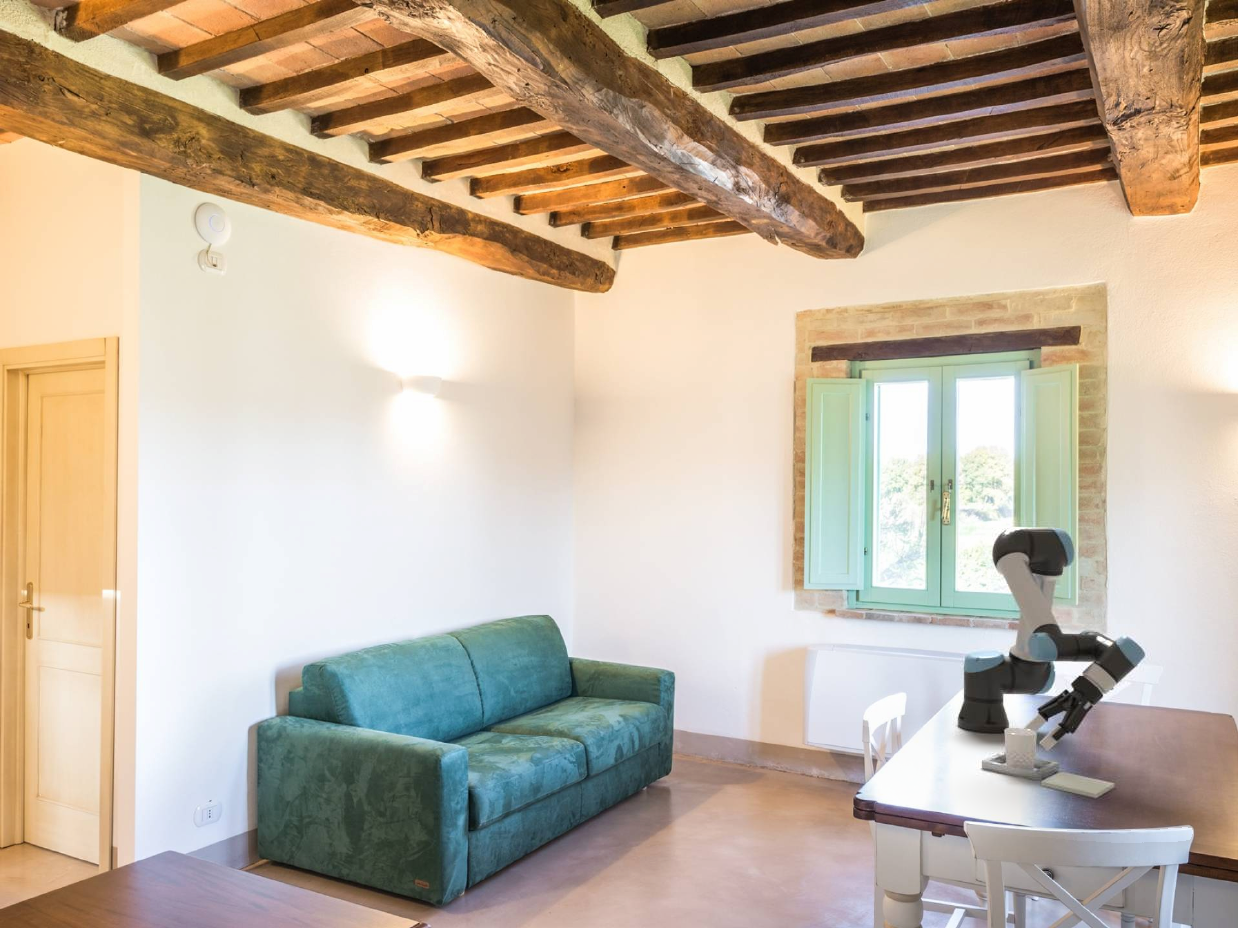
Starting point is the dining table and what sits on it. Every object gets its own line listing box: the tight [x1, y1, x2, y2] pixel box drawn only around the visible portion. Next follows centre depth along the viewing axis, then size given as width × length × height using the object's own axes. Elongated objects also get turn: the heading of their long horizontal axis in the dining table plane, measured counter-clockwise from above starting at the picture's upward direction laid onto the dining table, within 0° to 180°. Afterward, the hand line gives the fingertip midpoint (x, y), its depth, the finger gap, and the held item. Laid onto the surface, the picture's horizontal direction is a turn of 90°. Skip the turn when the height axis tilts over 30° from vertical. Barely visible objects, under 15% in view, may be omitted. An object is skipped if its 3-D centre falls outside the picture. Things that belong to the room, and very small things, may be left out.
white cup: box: [1004, 727, 1038, 771], centre depth 253 cm, size 8×8×10 cm
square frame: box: [981, 751, 1059, 782], centre depth 253 cm, size 14×14×2 cm
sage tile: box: [1040, 771, 1115, 799], centre depth 239 cm, size 13×13×1 cm
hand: (1033, 740), depth 251 cm, fingers open, 13 cm apart
